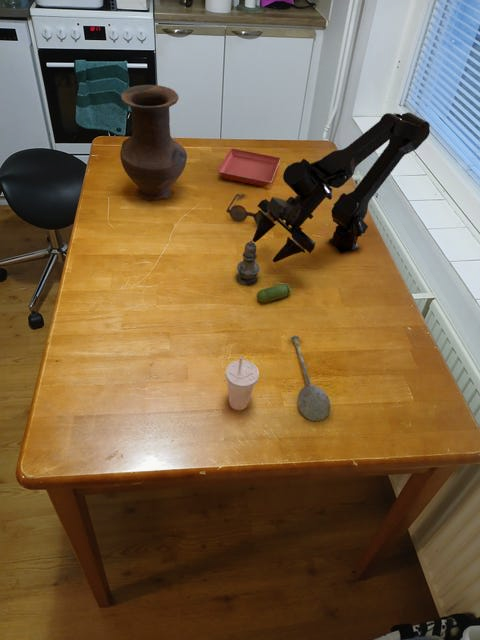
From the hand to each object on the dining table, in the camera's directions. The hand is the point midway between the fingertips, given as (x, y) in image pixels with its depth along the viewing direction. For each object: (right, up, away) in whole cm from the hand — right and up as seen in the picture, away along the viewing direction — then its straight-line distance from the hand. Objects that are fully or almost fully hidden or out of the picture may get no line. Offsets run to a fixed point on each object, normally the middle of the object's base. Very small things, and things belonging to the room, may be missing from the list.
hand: (263, 251), depth 123 cm
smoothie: (-6, -34, -24) cm, 42 cm away
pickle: (+2, -12, -1) cm, 12 cm away
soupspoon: (+8, -30, -18) cm, 36 cm away
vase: (-32, +22, +29) cm, 49 cm away
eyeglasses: (-1, +16, +26) cm, 30 cm away
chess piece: (-4, -7, +4) cm, 9 cm away
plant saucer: (-3, +32, +43) cm, 54 cm away
